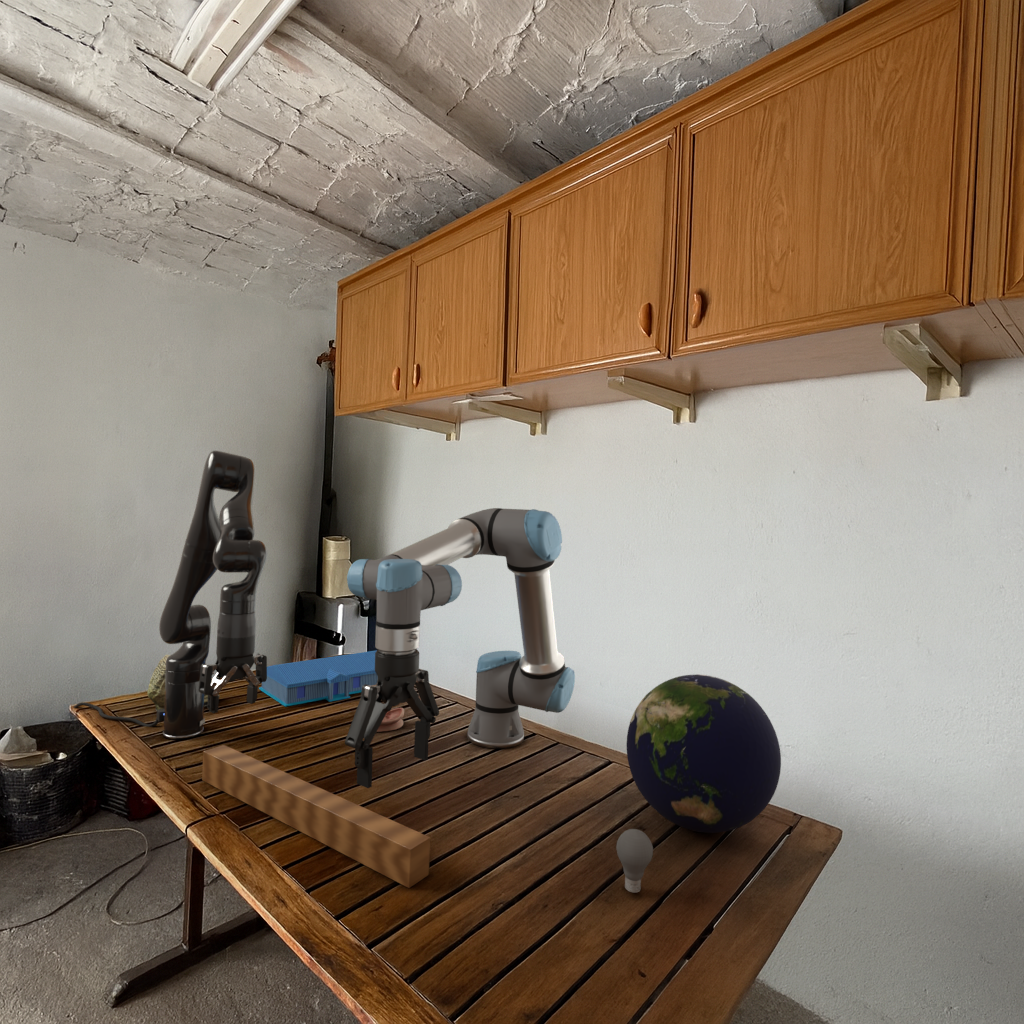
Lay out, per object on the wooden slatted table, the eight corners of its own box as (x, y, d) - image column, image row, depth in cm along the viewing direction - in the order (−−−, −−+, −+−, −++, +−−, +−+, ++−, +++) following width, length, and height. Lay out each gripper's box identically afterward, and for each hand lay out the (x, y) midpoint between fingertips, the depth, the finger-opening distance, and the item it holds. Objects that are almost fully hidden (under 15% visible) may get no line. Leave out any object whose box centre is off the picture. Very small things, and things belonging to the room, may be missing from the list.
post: (202, 780, 139) (203, 751, 139) (222, 773, 143) (223, 744, 143) (409, 888, 104) (410, 849, 104) (428, 874, 108) (430, 837, 108)
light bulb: (610, 879, 108) (613, 822, 108) (644, 879, 109) (647, 822, 109) (619, 902, 102) (622, 840, 102) (655, 901, 103) (658, 840, 103)
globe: (608, 841, 121) (615, 684, 120) (638, 779, 148) (644, 652, 148) (777, 883, 110) (786, 711, 109) (776, 808, 137) (783, 670, 137)
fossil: (144, 707, 182) (145, 655, 182) (212, 696, 194) (213, 647, 194) (151, 716, 175) (153, 662, 175) (221, 703, 188) (223, 653, 188)
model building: (289, 709, 186) (291, 675, 185) (258, 688, 204) (259, 657, 204) (403, 687, 212) (405, 657, 212) (366, 670, 230) (368, 643, 230)
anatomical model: (347, 714, 172) (365, 702, 183) (346, 729, 172) (365, 715, 183) (393, 720, 169) (409, 707, 181) (392, 735, 169) (408, 720, 181)
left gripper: (214, 640, 127) (210, 720, 128) (276, 630, 139) (272, 704, 140) (194, 634, 132) (190, 711, 132) (256, 625, 143) (252, 696, 144)
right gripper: (356, 669, 97) (353, 805, 97) (460, 640, 117) (456, 753, 118) (324, 660, 101) (321, 791, 102) (430, 633, 121) (426, 743, 122)
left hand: (232, 707), depth 136 cm, fingers open, 8 cm apart
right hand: (394, 771), depth 110 cm, fingers open, 13 cm apart
